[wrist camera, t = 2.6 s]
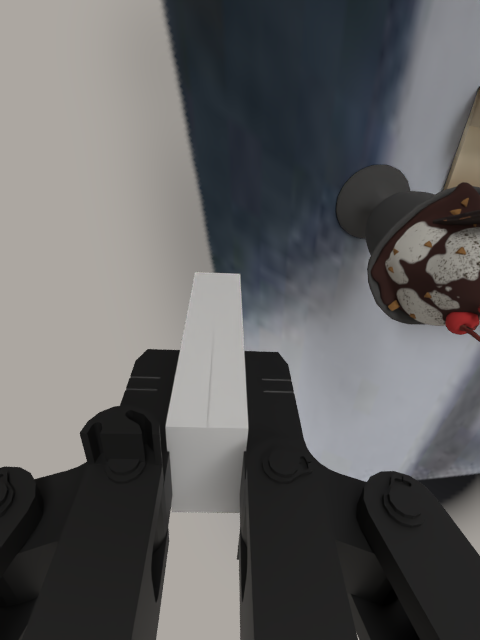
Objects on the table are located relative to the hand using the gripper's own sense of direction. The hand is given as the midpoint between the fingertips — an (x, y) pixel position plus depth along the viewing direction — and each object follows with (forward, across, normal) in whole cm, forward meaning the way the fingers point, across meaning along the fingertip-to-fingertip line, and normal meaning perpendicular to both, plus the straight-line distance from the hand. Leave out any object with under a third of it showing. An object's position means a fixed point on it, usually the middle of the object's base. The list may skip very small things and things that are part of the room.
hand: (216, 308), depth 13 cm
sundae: (+14, +10, 0) cm, 17 cm away
